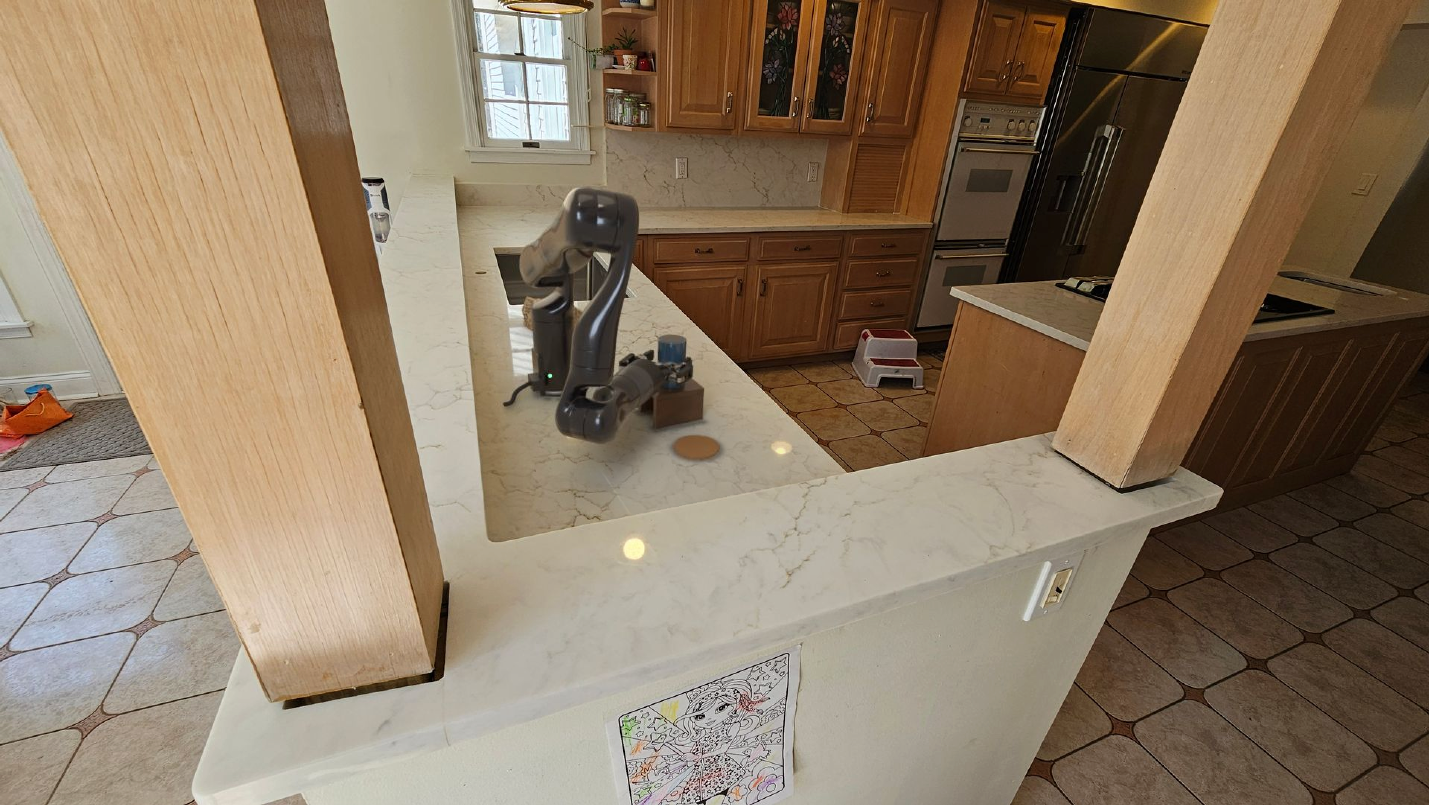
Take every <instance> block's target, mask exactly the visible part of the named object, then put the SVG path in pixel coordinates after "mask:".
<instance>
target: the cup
mask: <svg viewBox="0 0 1429 805" xmlns="http://www.w3.org/2000/svg"><path fill="white" fill-rule="evenodd" d="M687 341H688V340H687V338H686V337H685V336H683V335H680V334H663V335H660V336H658V337H657V353H656V354H657V358H656V359H657V360H656V362H657V363H658V362H661V363H665V362H671V361H673V362H675V363H679V362H681V361H683V360H684V359H685V358H686V357H687V345H688V344H687V343H688V342H687ZM668 368H669V370H670V372H671V367H668ZM677 371H680V367H678V368H677ZM684 385H685V383H684V384H683V385H682V386H676V382H675V381H671V380H670V381H669V382H665V383H663V385H662V387H663V388H668V389H676V388H680V387H683V386H684Z"/></svg>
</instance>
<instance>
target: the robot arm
mask: <svg viewBox="0 0 1429 805" xmlns="http://www.w3.org/2000/svg"><path fill="white" fill-rule="evenodd" d="M639 229H640V209H639V206H638V202H637V200H636V199H635V197H634V196H633V195H631V194H628V193H624V192H618V191H612V190H607V189H601V188H595V187H588V186H580V187H579V186H578V187H575V188H573V189H572V190H570V191H569V193H568V194H567V195H566V197H565V198H564V200H563V202H562V204H561V207H560V209H559V211H558V213H557V215H556V217H555V218H554V219H553V221H552V222H551V223H550V224H549V225H548V226H547V227H545V229H544V230H543V232H541V235H540V236H538V238H536V239H535V240H534V241H532V242H530V243H528V244H526V245H525V246H524V247H523V249H521V253H520V256H519V271H520V275H521V278H522V280H523V281H524V283H525V284H526V286H528V287H530V288H532V289H533V288H534V289H549V288H554V290H553V291H552V292H551V293H550V294H548V295H547V296H545V297H543V298H540V299H541V300H539V301H537V302H535V303H534V304H533V305H532V306H531V317H532V330H531V331H532V346H533V347H531V350H530V351H531V362H532V372H531V373H527V382H525V383H523V384H521V385H520V386H518V387H517V388H515V389H514V391H513V392H512V393H511V397H510V399H509V400H508V401H504V402H502V405H503V408H506V407H510V406H511V405H513V404H514V403H515V402H516V399H517V396H518V394H520V393H521V392H522V391H523V390H525V389H526V388H529V387H530V388H531V391H532V392H538V394H539V396H560V398H559V400H558V402H557V405H556V408H555V413H554V421H555V422H554V423H555V426H556V428H557V430H558V432H559V433H560V434H561V435H562V436H564V437H566V438H570V439H575V440H578V441H583V442H587V443H590V444H594V445H595V444H596V445H605V444H609V443H610V442H612V441H614V439H616V437H617V436H618V434H619V432H620V429H621V427H622V425H623V423H624V421H625V420H626V417H627V416H629V414H631V413H632V412H633V411H634V410H635V409H637V408H638V407H639V406H641V405H642V404H644V403H645V402H646V401H647V400H648V399H650V398H651V397H652V396H653V395H654V394H656V393H657V392H658V391H659V390H660V388H661V387H662V385H663V383H665V382H669V381H670V380H671V381H675V382H676V386H682V385H683V384H684V383H686V382H687V381H688V380H690V379H691V378H692V379H693V377H694V365H693V359H692V357H691V356H686V358H685V359H684V360H683V361H681V362H679V363H675V362H673V361H671V362H665V363H661V362H658V363H657V361H654V359H655V350H654V349H649V350H647V351H645V352H644V353H638V354H637V355H636V354H635V353H633V352H630V353H628V354H627V355H625V356H624V357H623V358H621V359H620V360H618V371H617V372H615V365H616V354H617V353H616V352H617V343H618V342H617V341H618V332H619V327H620V326H619V325H620V321H621V320H620V319H621V315H622V311H623V307H624V303H625V302H624V301H625V299H626V298H625V297H626V293H627V289H628V285H629V281H630V275H631V271H632V266H633V262H634V256H635V251H636V248H637V243H638V237H639ZM594 253H599V254H608V255H610V259H609V263H608V268H607V272H606V274H605V276H604V278H603V282H602V283H601V284H600V286H599V288H598V290H597V291H596V292H595V294H594V295H593V297H592V298H591V300H590V301H589V303H587V305H586V306H585V307H584V309H583V310H582V311H583V312H582V314H581V315H580V317H579V318H578V320H577V322H576V325H574V306H575V273H577V272H578V271H580V270H581V269H583V268H585V267H586V266H587V265H588V264H589V263H590V262H591V260H592V258H593V256H594ZM668 367H671V372H670V370H669V368H668ZM678 367H680V371H677V368H678ZM614 373H615V374H614ZM590 388H596V389H595V390H594V392H593V395H592V398H590V397H587V394H588V391H589V389H590Z"/></svg>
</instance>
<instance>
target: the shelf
mask: <svg viewBox="0 0 1429 805" xmlns="http://www.w3.org/2000/svg"><path fill="white" fill-rule="evenodd" d="M704 397H705V387H703V386H702V385H701V384H699V383H698V382H697V381H696V380H695V379H694V378H693V377H692V378H691V379H690V380H688V381H687V382H686V383H685V385H684V386H683V387H680V388H676V389H668V388H663V387H661V388H660V390H659V391H658V392H657V393H656V394H654V395H653V396H652V397H651V398H650V399H648V400H647V401H646V402H645V403H644V404H642V405H641V406H639V407H637V408H638V410H639V412H641V413H642V412H646V411H647V412H648V411H653V415H652V417H653V418H652V426H653V427H654V429H655V430H658V429H663V428H668V427H673V426H677V425H681V424H685V423H691V422H696V421H700V420H703V419H704V418H703V417H704V401H705V400H704V399H705V398H704Z"/></svg>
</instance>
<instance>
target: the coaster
mask: <svg viewBox="0 0 1429 805" xmlns="http://www.w3.org/2000/svg"><path fill="white" fill-rule="evenodd" d="M673 449H674V452H675V453H676V454H678V455H679V456H680V457H682V458H686V459H689V460H698V461H699V460H706V459H709V458H713V457H714V456H716V455H717V454H718V453H719V451H720V444H719V443H718V441H716V440H715V439H714V438H711V437H710V436H706V435H700V434H699V435H698V434H693V435H692V434H691V435H684V436H682V437H680V438H677V439H676V441H675V442H674V444H673Z"/></svg>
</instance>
